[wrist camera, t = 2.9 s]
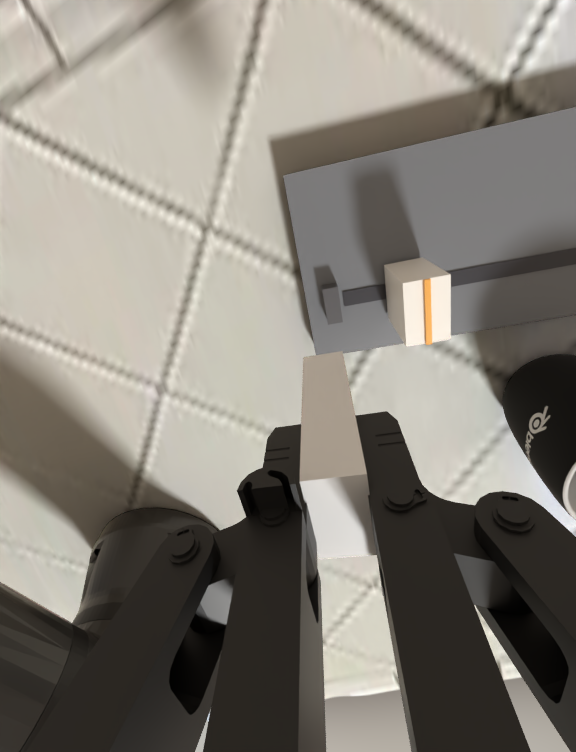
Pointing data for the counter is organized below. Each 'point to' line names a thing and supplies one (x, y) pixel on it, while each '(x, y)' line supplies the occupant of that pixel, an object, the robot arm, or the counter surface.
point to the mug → (547, 422)
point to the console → (442, 229)
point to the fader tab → (418, 301)
